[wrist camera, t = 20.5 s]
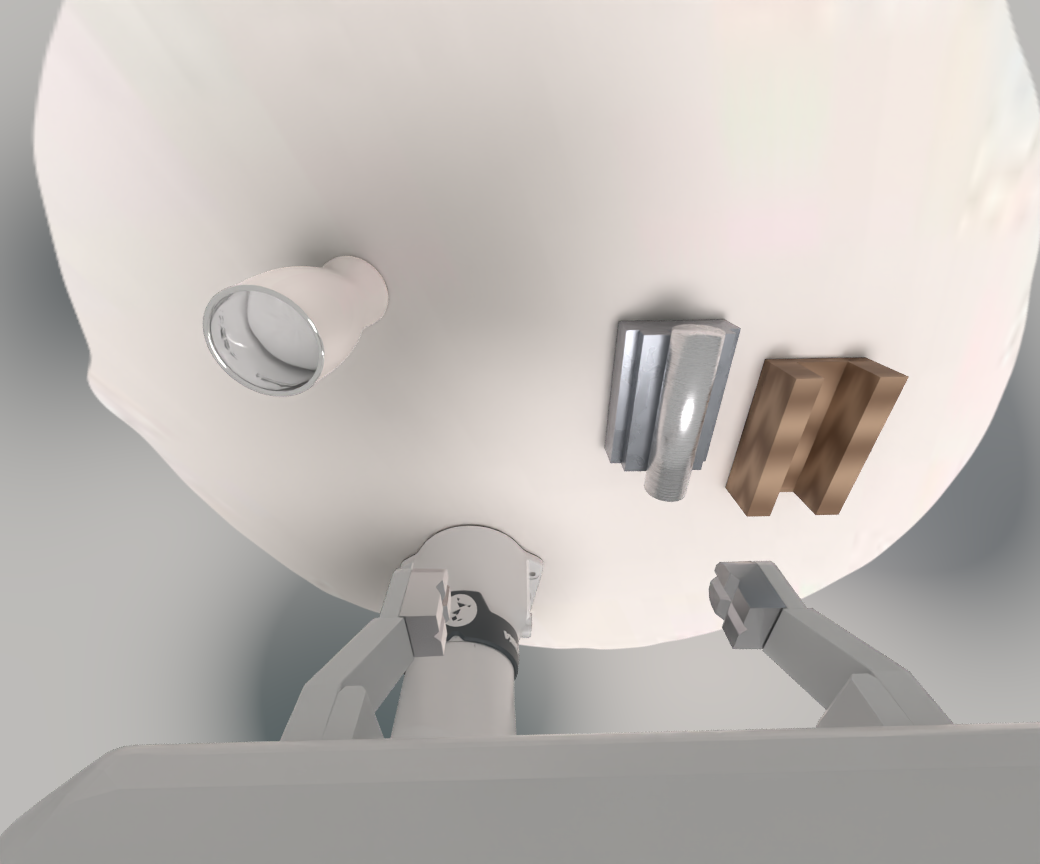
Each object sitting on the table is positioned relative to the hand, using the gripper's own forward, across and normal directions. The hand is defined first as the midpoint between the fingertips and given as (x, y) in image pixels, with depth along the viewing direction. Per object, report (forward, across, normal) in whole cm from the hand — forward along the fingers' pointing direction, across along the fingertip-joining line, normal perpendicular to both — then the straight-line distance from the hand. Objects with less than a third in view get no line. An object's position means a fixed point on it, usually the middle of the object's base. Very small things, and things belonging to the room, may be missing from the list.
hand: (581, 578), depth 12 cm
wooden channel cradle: (+29, +28, -12) cm, 42 cm away
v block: (+29, +13, -7) cm, 33 cm away
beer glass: (+29, -16, +3) cm, 34 cm away
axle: (+25, +12, -7) cm, 29 cm away
